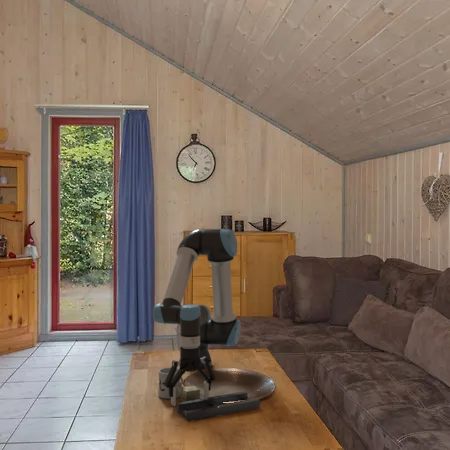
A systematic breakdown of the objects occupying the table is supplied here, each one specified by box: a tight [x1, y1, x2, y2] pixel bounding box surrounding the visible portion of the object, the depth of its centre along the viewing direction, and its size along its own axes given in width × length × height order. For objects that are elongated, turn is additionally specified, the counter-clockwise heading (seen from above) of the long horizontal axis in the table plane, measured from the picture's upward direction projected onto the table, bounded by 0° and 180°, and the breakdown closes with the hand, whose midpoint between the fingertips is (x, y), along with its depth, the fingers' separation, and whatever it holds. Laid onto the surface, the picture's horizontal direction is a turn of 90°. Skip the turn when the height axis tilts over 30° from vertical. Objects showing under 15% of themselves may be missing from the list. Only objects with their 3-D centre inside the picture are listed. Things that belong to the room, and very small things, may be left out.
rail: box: [176, 390, 261, 422], centre depth 207 cm, size 11×28×3 cm, turn 118°
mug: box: [157, 366, 184, 400], centre depth 220 cm, size 12×9×10 cm
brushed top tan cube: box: [180, 385, 201, 402], centre depth 214 cm, size 6×6×6 cm
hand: (189, 402), depth 214 cm, fingers open, 13 cm apart
